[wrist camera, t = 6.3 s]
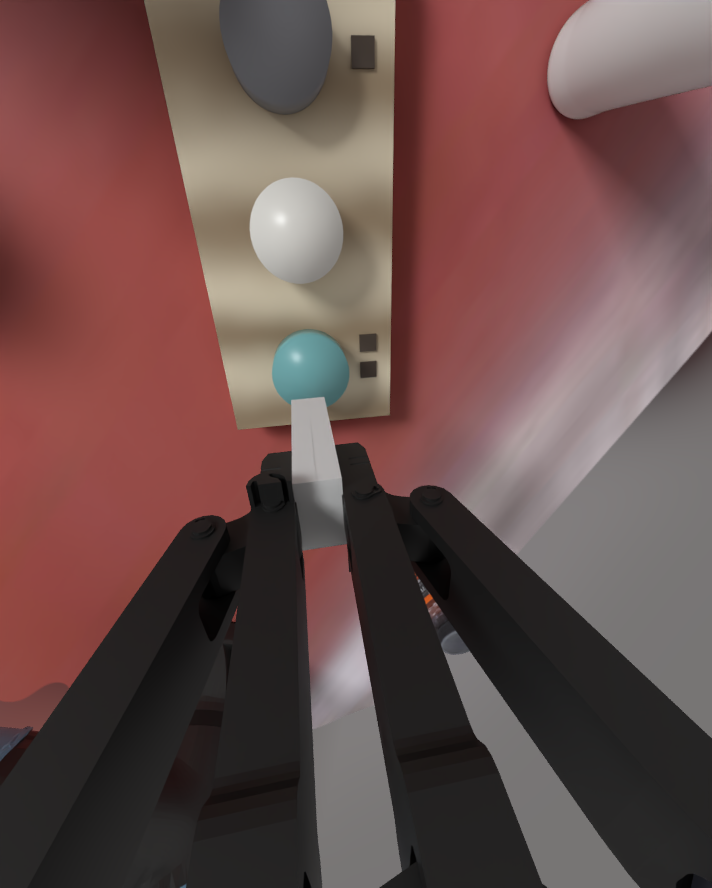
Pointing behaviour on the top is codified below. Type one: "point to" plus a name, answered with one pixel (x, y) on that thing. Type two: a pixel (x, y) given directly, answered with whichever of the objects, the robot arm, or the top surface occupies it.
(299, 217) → the white button
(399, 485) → the top surface
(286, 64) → the grey button
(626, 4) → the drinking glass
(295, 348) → the teal button
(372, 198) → the button panel
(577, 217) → the top surface
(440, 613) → the supplement bottle
